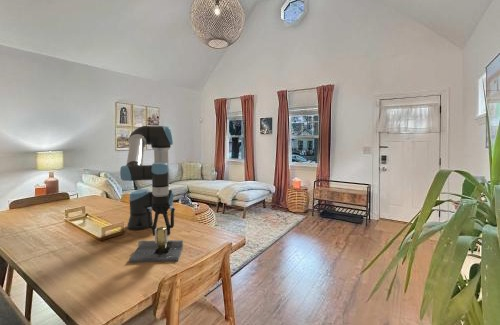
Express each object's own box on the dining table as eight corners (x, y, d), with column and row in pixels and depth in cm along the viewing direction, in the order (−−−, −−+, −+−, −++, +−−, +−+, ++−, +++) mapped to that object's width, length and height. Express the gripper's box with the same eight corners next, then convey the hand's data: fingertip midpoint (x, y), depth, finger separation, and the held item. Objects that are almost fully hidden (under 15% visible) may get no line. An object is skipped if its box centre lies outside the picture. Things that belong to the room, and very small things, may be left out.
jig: (129, 262, 118) (129, 253, 118) (139, 249, 132) (139, 241, 132) (178, 261, 120) (177, 252, 120) (183, 248, 134) (182, 240, 134)
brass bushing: (155, 249, 125) (154, 229, 124) (162, 245, 129) (161, 226, 128) (161, 250, 123) (161, 230, 122) (168, 247, 127) (168, 227, 126)
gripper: (139, 196, 119) (141, 245, 121) (177, 196, 120) (178, 244, 123) (144, 193, 126) (146, 239, 128) (180, 193, 128) (181, 238, 130)
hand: (161, 241), depth 125 cm, fingers closed on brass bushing, 4 cm apart
